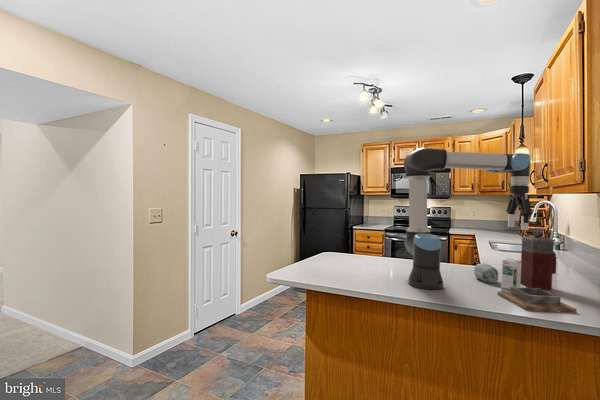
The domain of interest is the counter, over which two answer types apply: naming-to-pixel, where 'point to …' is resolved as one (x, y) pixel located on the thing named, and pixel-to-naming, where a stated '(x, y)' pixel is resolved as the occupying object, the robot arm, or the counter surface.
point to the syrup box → (510, 274)
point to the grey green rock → (486, 273)
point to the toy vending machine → (537, 261)
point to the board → (536, 300)
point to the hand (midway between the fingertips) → (517, 228)
